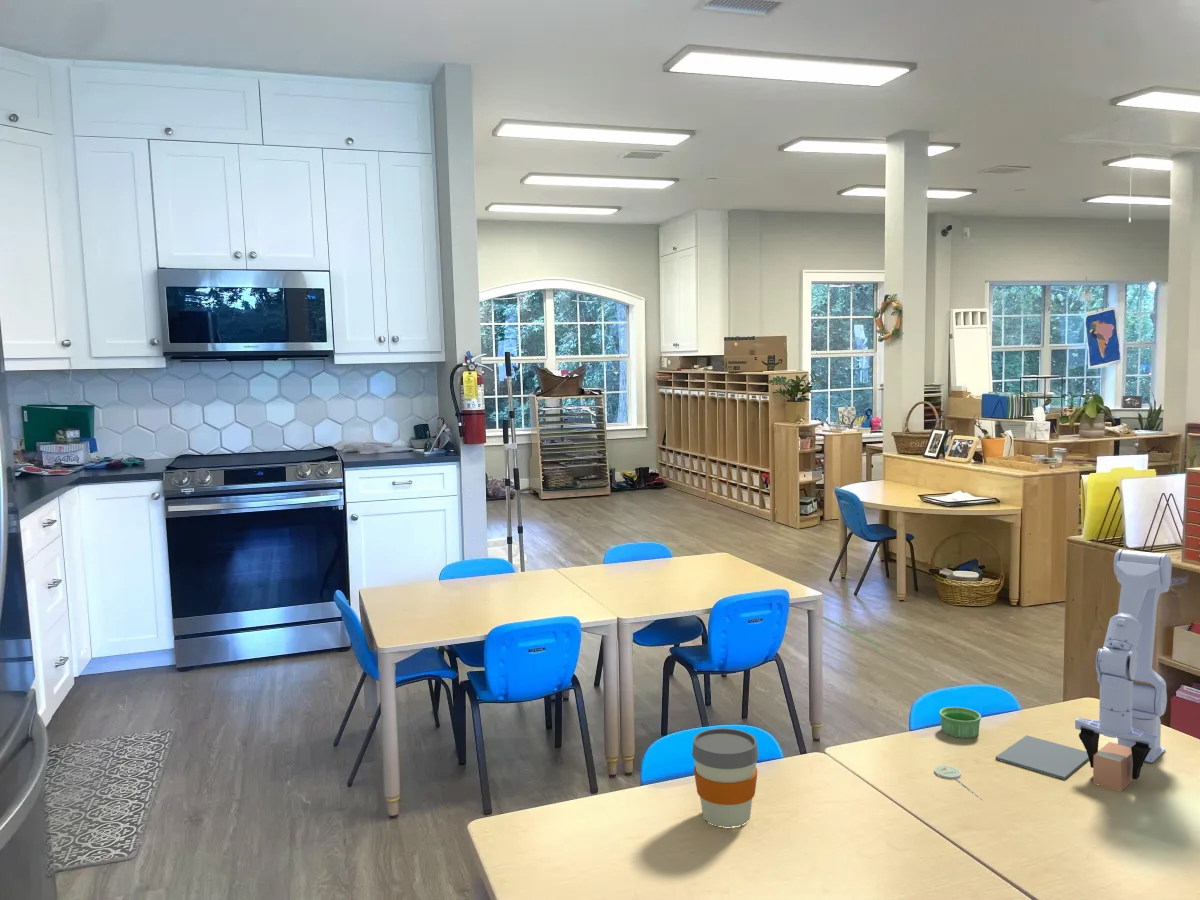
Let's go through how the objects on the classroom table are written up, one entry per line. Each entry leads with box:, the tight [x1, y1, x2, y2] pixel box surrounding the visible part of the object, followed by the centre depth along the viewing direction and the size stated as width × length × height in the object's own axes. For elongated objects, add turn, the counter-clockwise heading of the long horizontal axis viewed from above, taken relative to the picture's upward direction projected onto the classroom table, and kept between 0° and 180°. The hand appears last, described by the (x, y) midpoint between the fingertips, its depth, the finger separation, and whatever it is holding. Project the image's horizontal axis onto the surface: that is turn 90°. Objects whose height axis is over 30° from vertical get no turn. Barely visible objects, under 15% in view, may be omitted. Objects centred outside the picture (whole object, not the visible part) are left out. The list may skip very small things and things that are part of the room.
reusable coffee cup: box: [691, 727, 760, 827], centre depth 166 cm, size 13×13×15 cm
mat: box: [995, 735, 1089, 780], centre depth 187 cm, size 16×14×1 cm
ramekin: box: [939, 706, 982, 739], centre depth 202 cm, size 9×9×4 cm
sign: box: [934, 765, 983, 801], centre depth 177 cm, size 5×1×15 cm
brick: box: [1092, 741, 1134, 792], centre depth 176 cm, size 9×5×6 cm, turn 132°
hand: (1114, 772), depth 176 cm, fingers open, 7 cm apart
